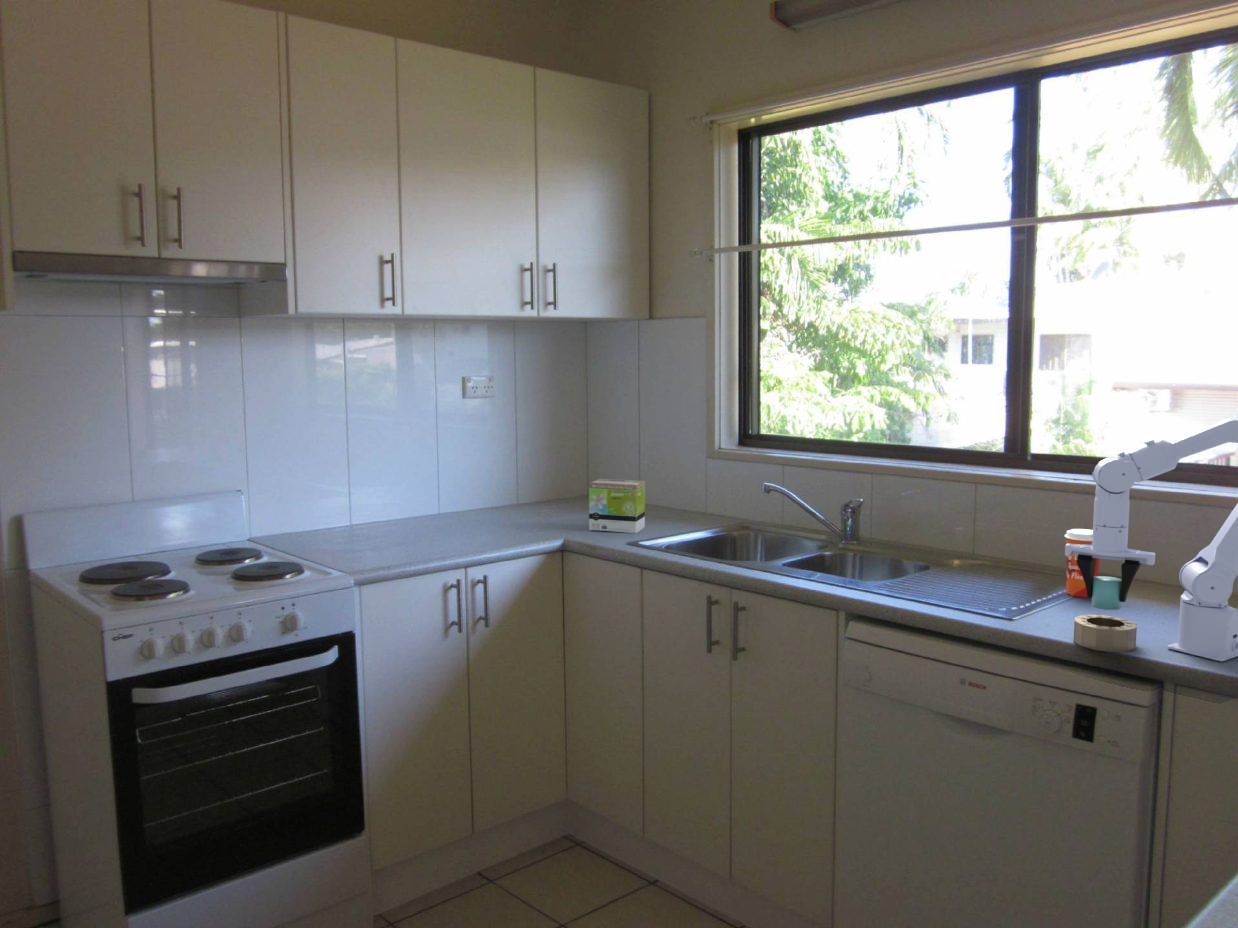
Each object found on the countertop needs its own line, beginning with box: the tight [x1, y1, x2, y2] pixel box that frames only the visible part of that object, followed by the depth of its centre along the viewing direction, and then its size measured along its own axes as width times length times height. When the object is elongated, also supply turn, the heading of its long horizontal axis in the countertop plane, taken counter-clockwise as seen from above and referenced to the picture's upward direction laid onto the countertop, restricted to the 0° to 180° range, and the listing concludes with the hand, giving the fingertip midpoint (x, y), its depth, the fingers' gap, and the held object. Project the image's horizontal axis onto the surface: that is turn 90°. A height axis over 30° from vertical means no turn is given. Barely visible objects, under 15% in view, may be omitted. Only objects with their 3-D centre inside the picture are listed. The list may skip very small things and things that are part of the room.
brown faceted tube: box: [1073, 614, 1137, 653], centre depth 179 cm, size 10×10×4 cm
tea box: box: [588, 478, 646, 534], centre depth 294 cm, size 15×10×15 cm, turn 73°
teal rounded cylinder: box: [1091, 575, 1122, 611], centre depth 178 cm, size 5×5×5 cm
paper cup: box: [1064, 528, 1101, 599], centre depth 214 cm, size 8×8×14 cm
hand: (1106, 598), depth 178 cm, fingers closed on teal rounded cylinder, 5 cm apart
